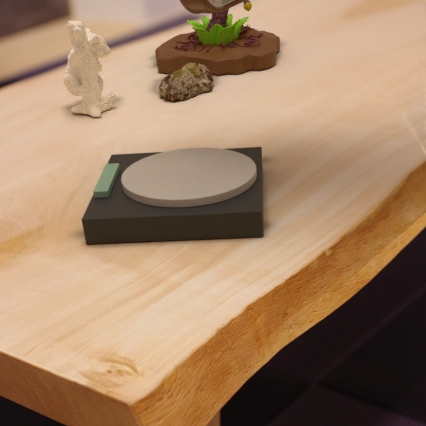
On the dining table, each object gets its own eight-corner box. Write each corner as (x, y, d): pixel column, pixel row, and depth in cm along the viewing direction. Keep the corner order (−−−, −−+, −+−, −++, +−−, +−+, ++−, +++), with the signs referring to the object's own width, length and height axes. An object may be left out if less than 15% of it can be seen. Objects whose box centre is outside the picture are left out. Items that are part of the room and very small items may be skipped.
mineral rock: (169, 63, 110) (216, 49, 106) (179, 91, 112) (226, 78, 108) (137, 86, 102) (187, 72, 98) (149, 117, 104) (199, 103, 100)
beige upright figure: (111, 119, 97) (97, 23, 91) (61, 122, 98) (43, 26, 91) (121, 100, 104) (109, 9, 98) (74, 103, 105) (59, 12, 98)
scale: (262, 169, 79) (261, 139, 77) (263, 237, 66) (262, 202, 64) (114, 176, 80) (110, 147, 79) (85, 244, 67) (79, 211, 65)
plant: (171, 46, 130) (164, -24, 124) (283, 41, 126) (281, -30, 120) (144, 78, 113) (135, -1, 107) (272, 74, 110) (270, -8, 104)
